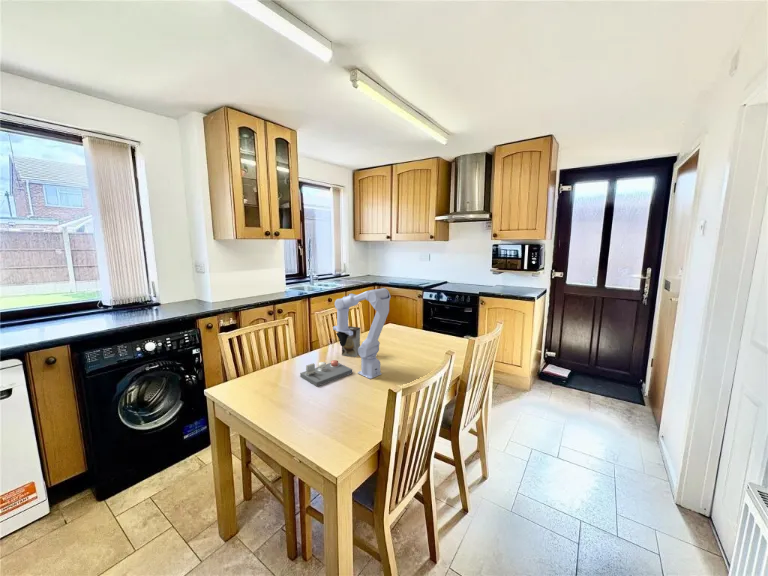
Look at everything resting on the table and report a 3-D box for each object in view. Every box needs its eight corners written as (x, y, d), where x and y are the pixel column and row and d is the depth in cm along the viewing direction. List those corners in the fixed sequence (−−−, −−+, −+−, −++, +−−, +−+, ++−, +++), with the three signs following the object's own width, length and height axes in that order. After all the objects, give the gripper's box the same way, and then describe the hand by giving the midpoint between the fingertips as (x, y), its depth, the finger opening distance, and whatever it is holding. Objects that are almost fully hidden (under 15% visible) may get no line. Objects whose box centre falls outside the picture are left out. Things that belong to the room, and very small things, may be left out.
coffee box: (341, 355, 179) (341, 328, 176) (346, 351, 185) (346, 325, 182) (355, 357, 176) (355, 330, 173) (360, 353, 182) (360, 327, 179)
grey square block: (315, 373, 150) (315, 364, 149) (308, 375, 147) (308, 366, 146) (312, 371, 152) (312, 362, 151) (305, 373, 149) (305, 365, 148)
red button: (339, 365, 160) (339, 361, 159) (333, 367, 157) (333, 363, 157) (335, 363, 162) (335, 359, 162) (329, 365, 160) (329, 361, 159)
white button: (327, 367, 154) (327, 363, 154) (321, 369, 152) (321, 365, 151) (323, 365, 157) (323, 361, 156) (317, 367, 154) (317, 363, 154)
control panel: (352, 373, 156) (352, 369, 155) (316, 386, 141) (316, 382, 140) (335, 364, 165) (335, 361, 165) (300, 376, 150) (300, 372, 150)
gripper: (328, 319, 165) (328, 343, 167) (345, 325, 155) (345, 351, 157) (339, 317, 170) (339, 341, 172) (356, 322, 160) (356, 347, 162)
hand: (342, 345), depth 165 cm, fingers closed
